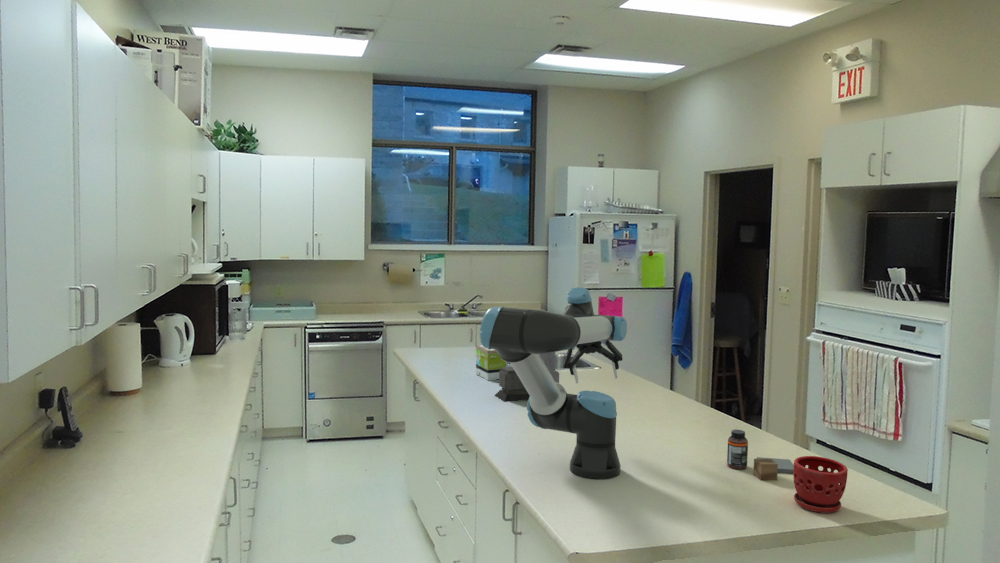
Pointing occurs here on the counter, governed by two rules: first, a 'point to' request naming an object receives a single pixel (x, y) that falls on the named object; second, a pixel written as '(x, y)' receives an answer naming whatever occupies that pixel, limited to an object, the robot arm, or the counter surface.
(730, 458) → the supplement bottle
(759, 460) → the walnut cube
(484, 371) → the tea box
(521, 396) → the juicer
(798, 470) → the plant pot
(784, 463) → the coaster
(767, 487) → the counter surface
